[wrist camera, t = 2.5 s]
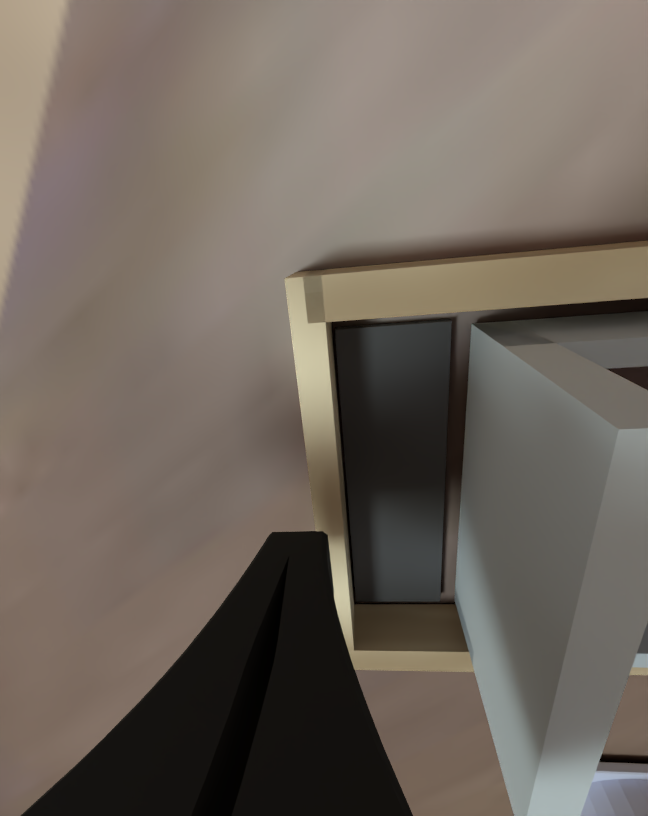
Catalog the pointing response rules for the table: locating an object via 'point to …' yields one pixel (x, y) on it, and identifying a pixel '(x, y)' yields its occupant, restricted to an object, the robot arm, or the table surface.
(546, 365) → the tray
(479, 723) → the table surface
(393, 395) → the channel
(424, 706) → the table surface
